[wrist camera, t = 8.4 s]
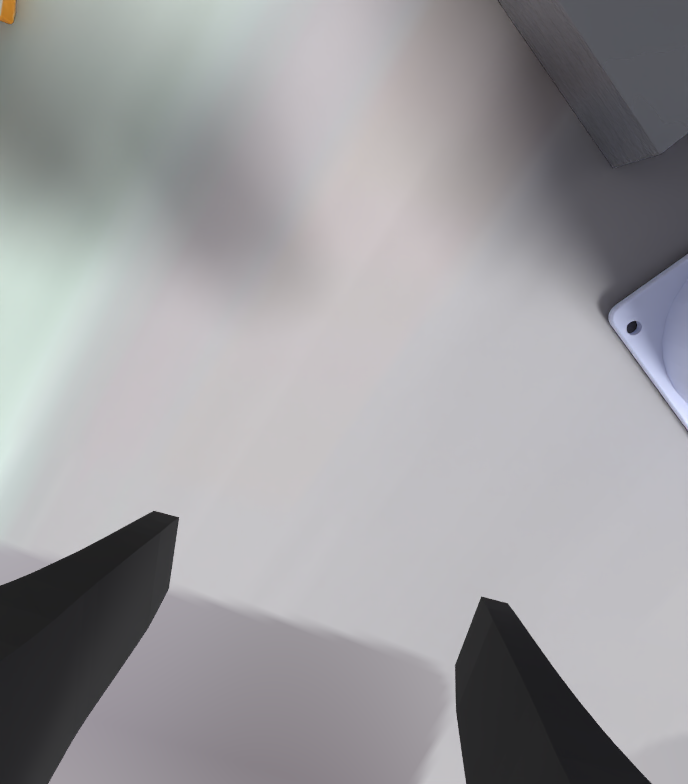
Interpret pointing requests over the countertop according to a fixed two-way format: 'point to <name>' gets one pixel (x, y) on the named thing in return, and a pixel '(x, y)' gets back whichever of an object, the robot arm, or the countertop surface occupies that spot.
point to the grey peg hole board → (615, 67)
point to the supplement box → (7, 11)
